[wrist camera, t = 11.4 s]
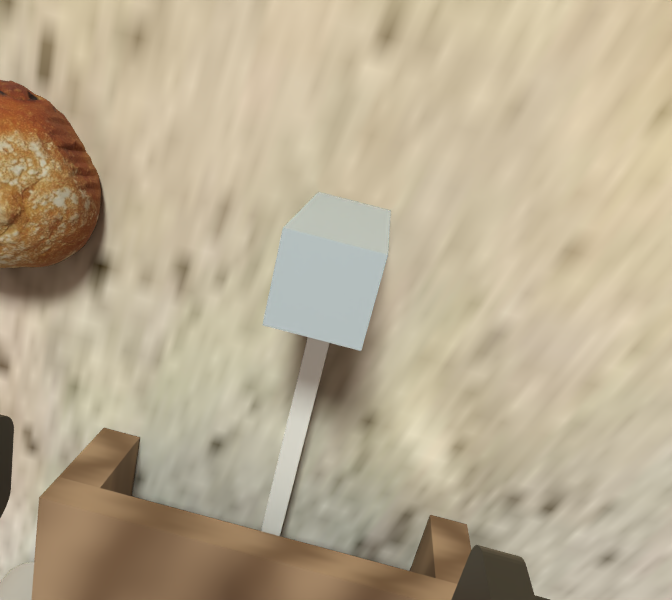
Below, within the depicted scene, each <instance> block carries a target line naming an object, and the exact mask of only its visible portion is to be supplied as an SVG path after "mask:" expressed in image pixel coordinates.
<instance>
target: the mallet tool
mask: <svg viewBox="0 0 672 600" xmlns="http://www.w3.org/2000/svg"><path fill="white" fill-rule="evenodd" d="M390 214H391V210H387V209H383V208H379V207H375V206H371V205H367V204H363V203H359V202H356V201H352V200H348V199H344V198H340V197H336V196H332V195H328V194H324V193H321V192H318V193H317V194H316V195H315V196H314V197H313V198H312V199H311V200H310V201H309V202H308V203H307V204H306V205H305V206H304V207H303V208H302V209H301V210H300V211H299V212H298V213H297V214H296V215H295V216H294V217H293V218H292V219H291V220H290V221H289V222H288V223H287V224H286V225H285V226H284V227H283V230H282V235H281V240H280V245H279V249H278V254H277V259H276V264H275V268H274V273H273V278H272V283H271V287H270V292H269V297H268V301H267V306H266V311H265V316H264V320H263V325H264V326H268V327H272V328H275V329H279V330H283V331H287V332H291V333H294V334H298V335H302V336H306V337H308V338H307V342H306V347H305V351H304V355H303V359H302V363H301V367H300V371H299V376H298V380H297V384H296V388H295V392H294V396H293V400H292V405H291V409H290V413H289V417H288V421H287V425H286V429H285V434H284V438H283V442H282V446H281V450H280V454H279V458H278V463H277V467H276V471H275V475H274V479H273V483H272V487H271V492H270V496H269V500H268V504H267V508H266V512H265V516H264V521H263V525H262V529H261V531H262V532H266V533H269V534H273V535H277V536H280V533H281V530H282V526H283V523H284V519H285V515H286V511H287V508H288V504H289V500H290V496H291V492H292V488H293V484H294V480H295V476H296V472H297V469H298V465H299V461H300V457H301V453H302V449H303V445H304V441H305V437H306V433H307V430H308V426H309V422H310V418H311V414H312V410H313V406H314V402H315V398H316V394H317V391H318V387H319V383H320V379H321V375H322V371H323V367H324V363H325V359H326V356H327V352H328V348H329V344H330V343H332V344H336V345H340V346H344V347H348V348H351V349H355V350H359V351H361V350H362V346H363V343H364V339H365V336H366V332H367V328H368V325H369V321H370V318H371V314H372V311H373V307H374V303H375V300H376V296H377V293H378V289H379V285H380V282H381V278H382V275H383V271H384V267H385V264H386V260H387V257H388V247H389V231H390Z"/></svg>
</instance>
